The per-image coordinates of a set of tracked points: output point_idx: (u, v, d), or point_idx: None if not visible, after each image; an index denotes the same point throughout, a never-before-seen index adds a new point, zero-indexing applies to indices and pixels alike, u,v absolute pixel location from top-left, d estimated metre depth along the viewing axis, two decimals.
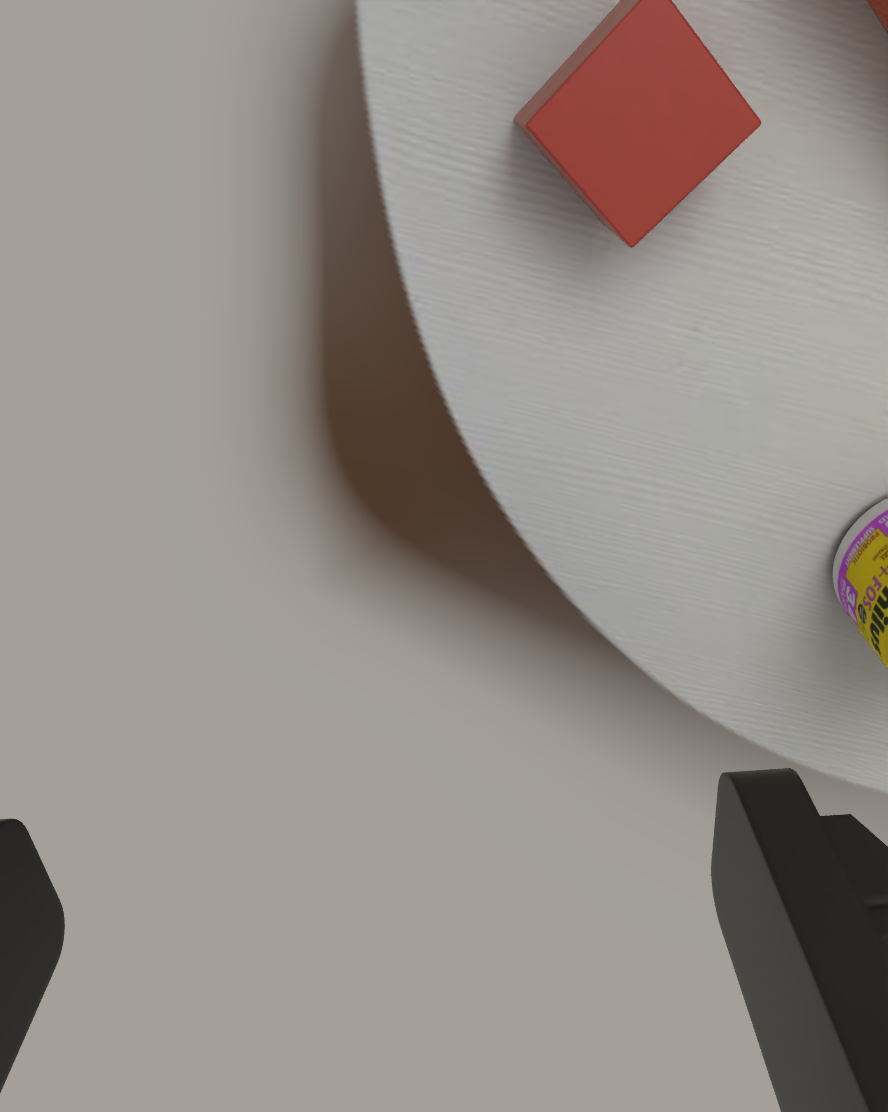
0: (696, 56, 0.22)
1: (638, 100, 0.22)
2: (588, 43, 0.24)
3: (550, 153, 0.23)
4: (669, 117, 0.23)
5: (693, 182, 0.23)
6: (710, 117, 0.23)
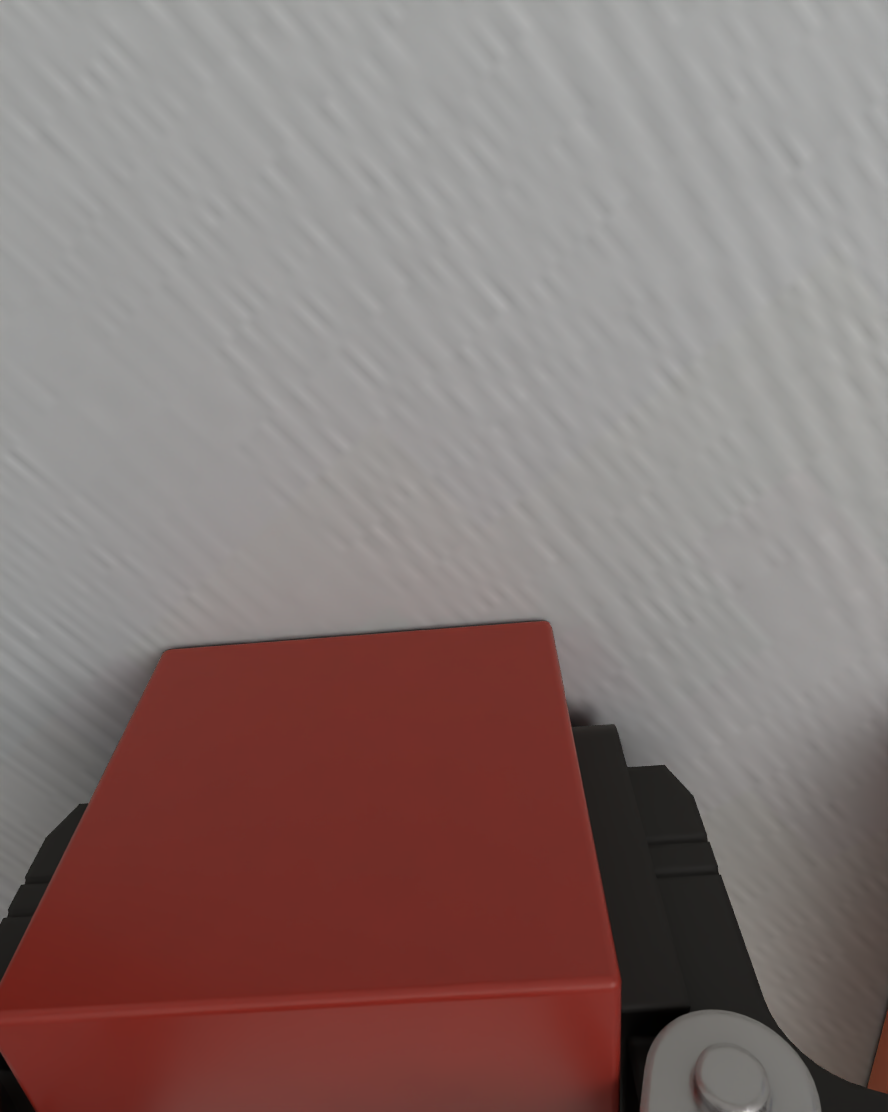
0: None
1: None
2: (387, 744, 0.08)
3: (30, 1096, 0.06)
4: None
5: None
6: None
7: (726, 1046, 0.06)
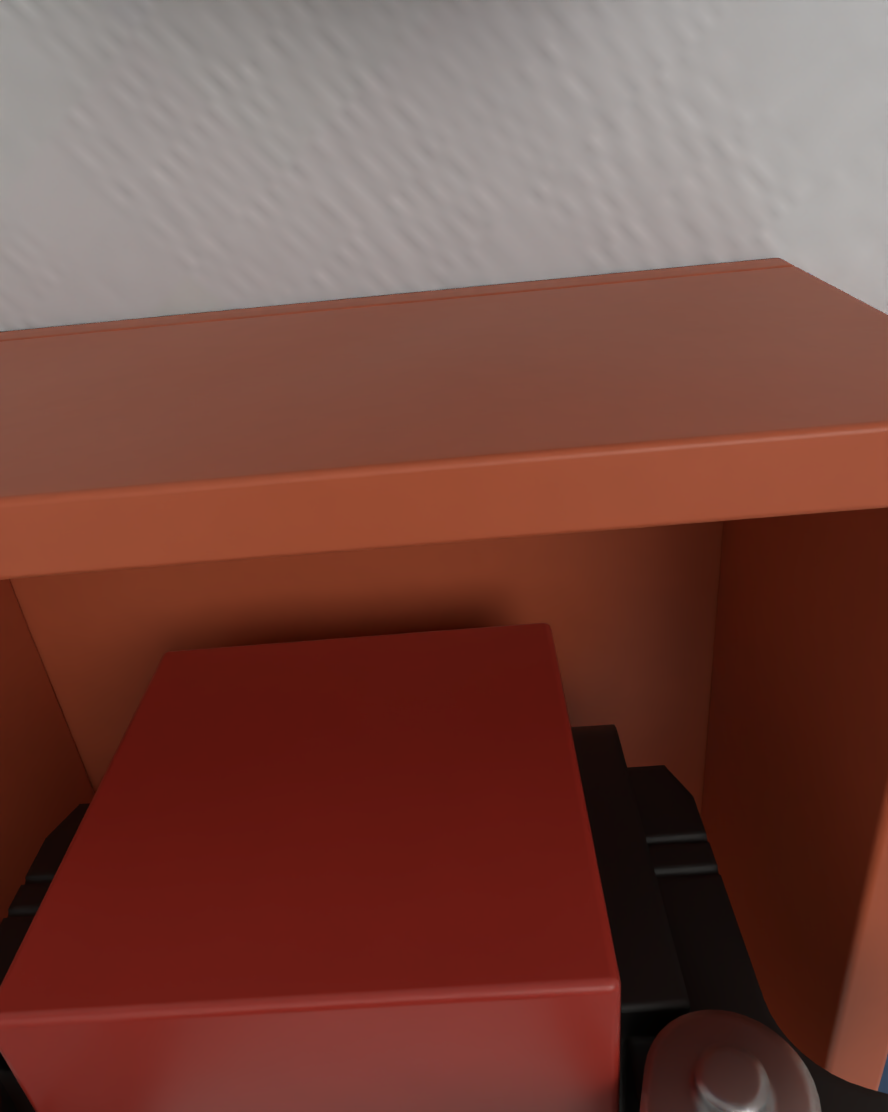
0: None
1: None
2: (387, 746, 0.08)
3: (30, 1097, 0.06)
4: None
5: None
6: None
7: (726, 1046, 0.06)
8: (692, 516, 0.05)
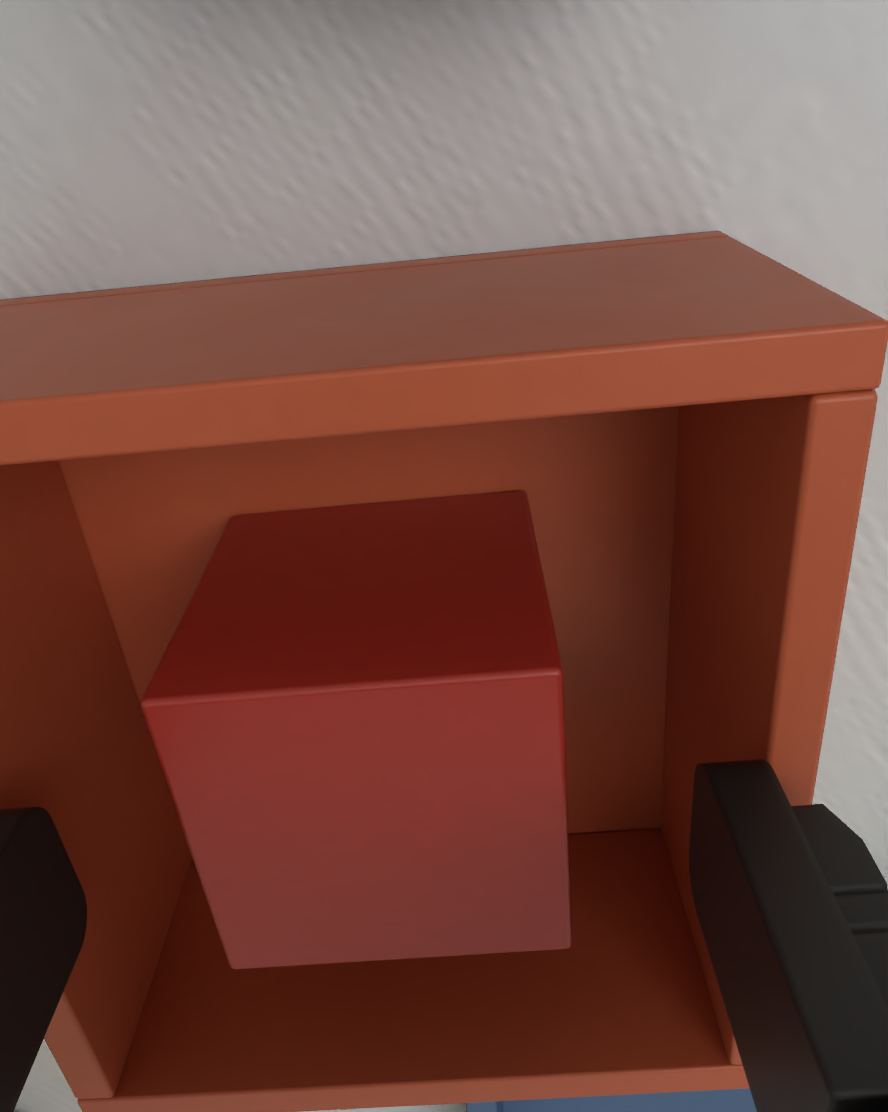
0: (540, 813, 0.10)
1: (392, 804, 0.10)
2: (404, 561, 0.11)
3: (164, 771, 0.09)
4: (429, 857, 0.10)
5: (403, 954, 0.11)
6: (496, 898, 0.10)
7: None
8: (622, 404, 0.07)
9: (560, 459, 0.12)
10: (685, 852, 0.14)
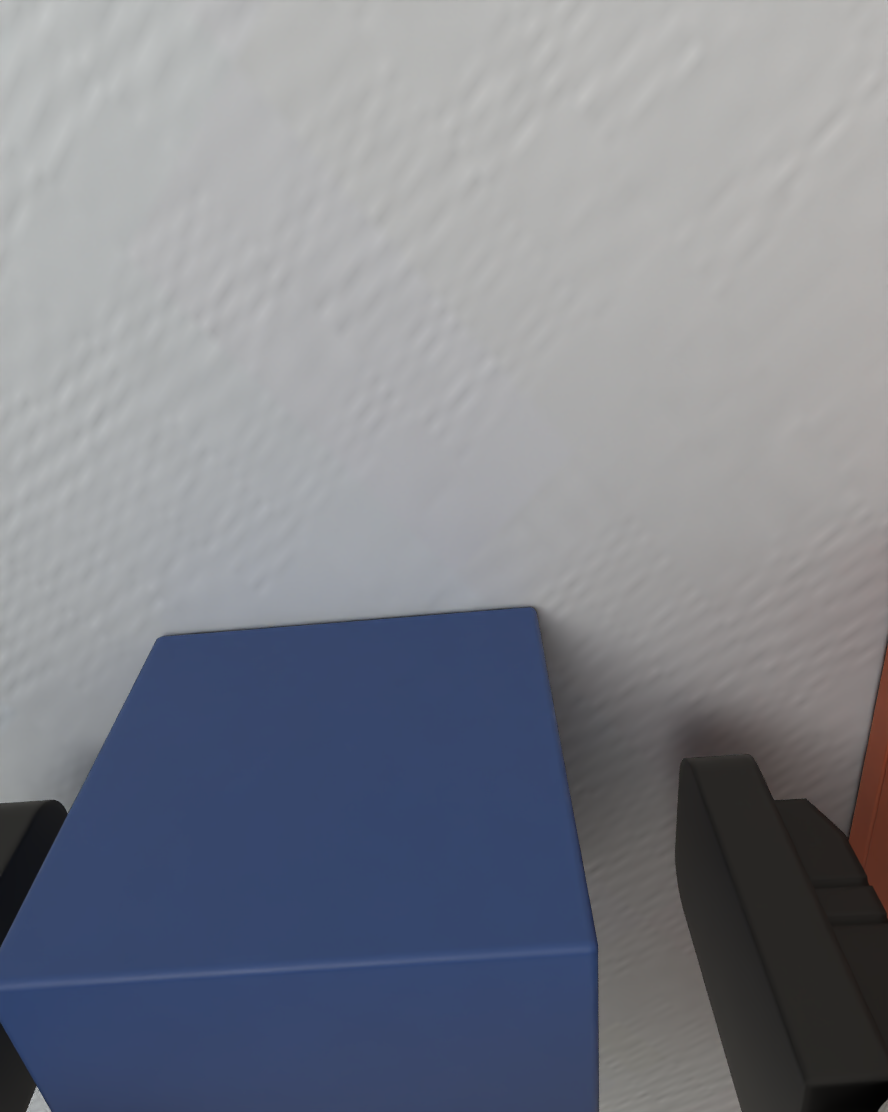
0: None
1: None
2: None
3: None
4: None
5: None
6: None
7: None
8: None
9: None
10: None
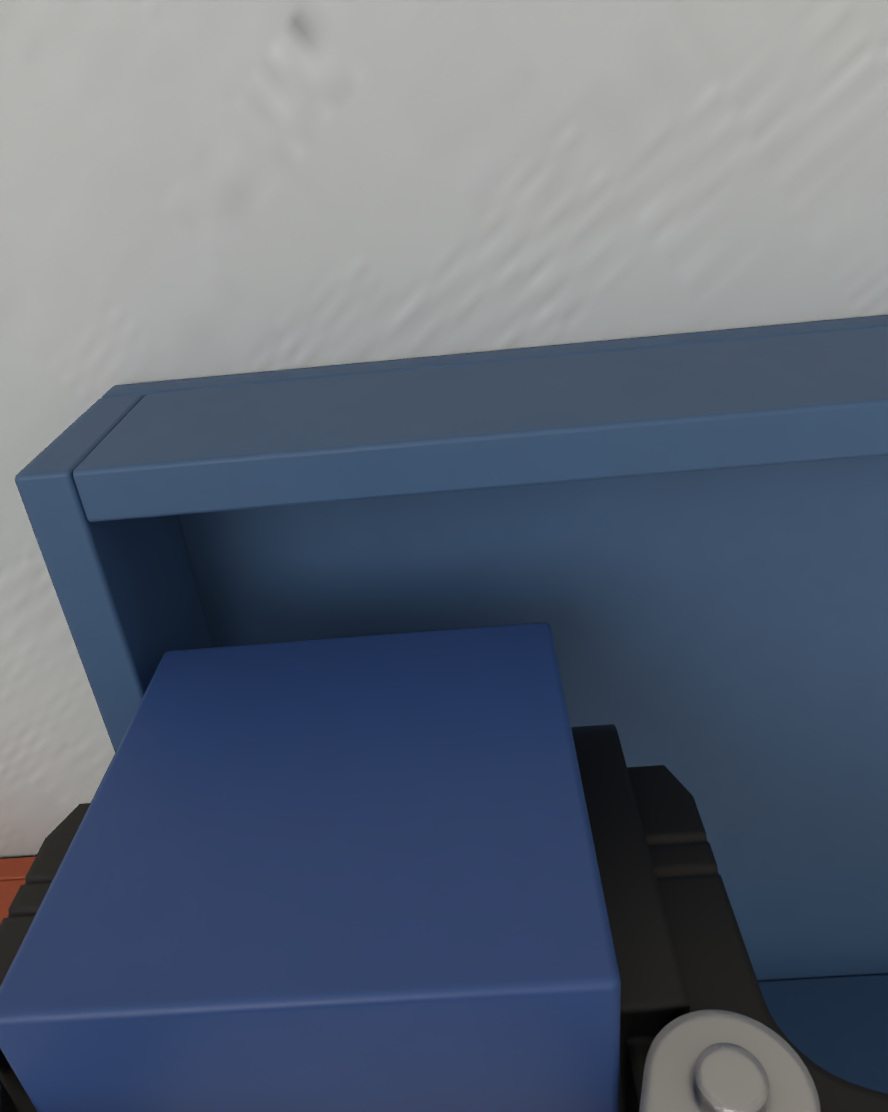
0: None
1: None
2: None
3: None
4: None
5: None
6: None
7: (726, 1046, 0.06)
8: None
9: None
10: None
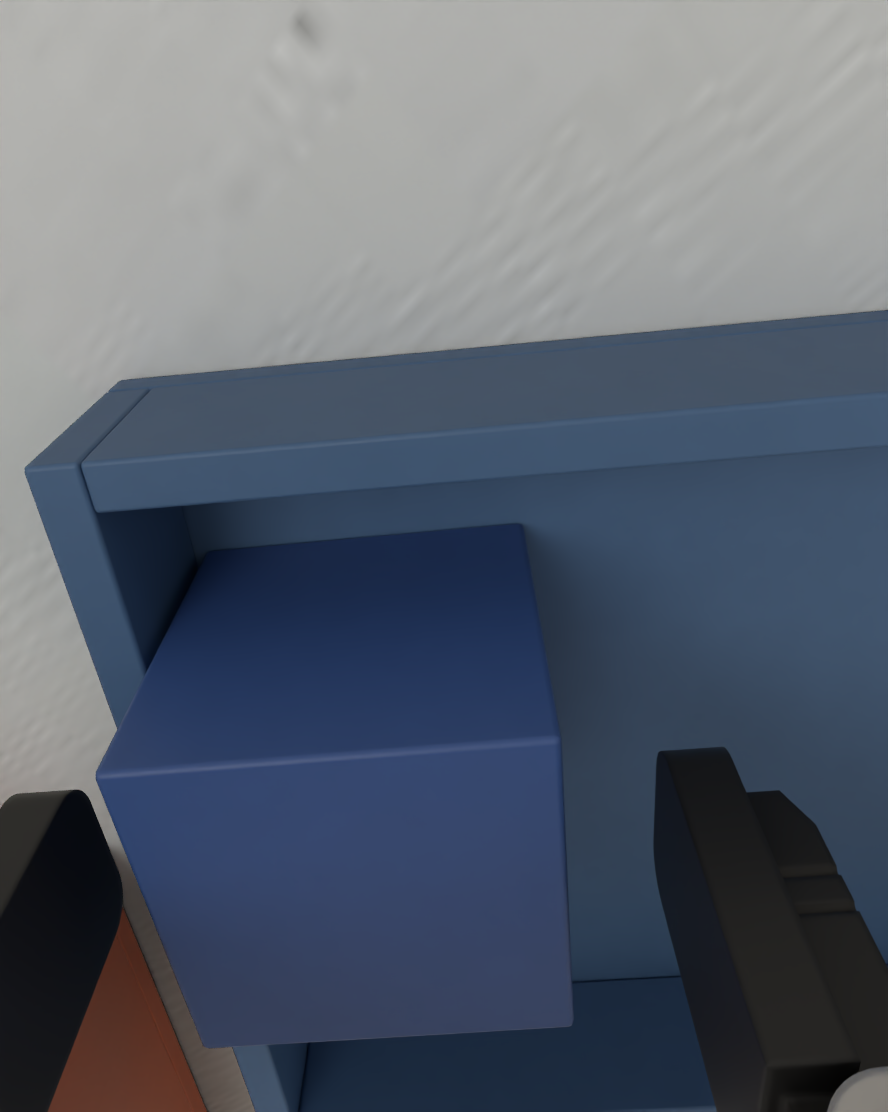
0: None
1: None
2: None
3: None
4: None
5: None
6: None
7: None
8: None
9: None
10: None
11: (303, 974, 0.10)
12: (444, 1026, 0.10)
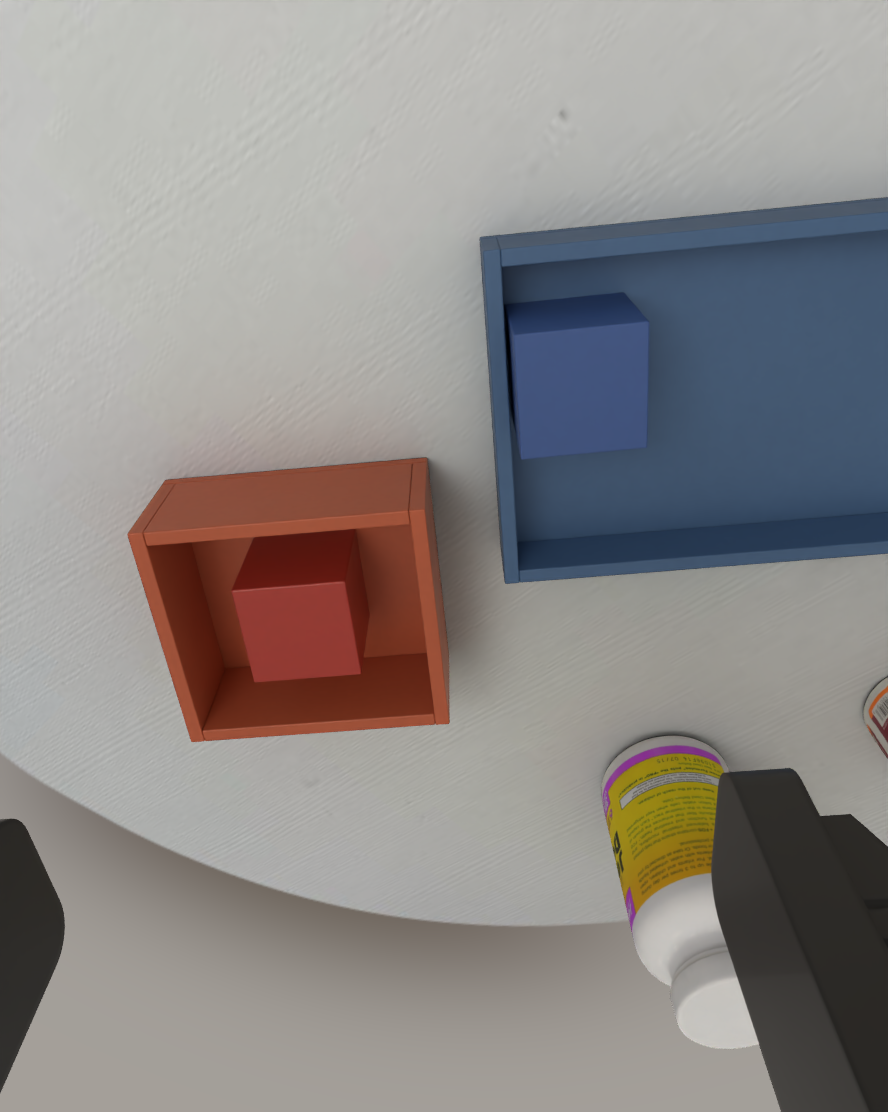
0: (282, 593, 0.33)
1: (283, 629, 0.34)
2: None
3: (278, 680, 0.35)
4: (304, 621, 0.34)
5: (349, 628, 0.34)
6: (320, 603, 0.33)
7: None
8: (155, 583, 0.33)
9: None
10: None
11: (561, 421, 0.30)
12: (604, 446, 0.30)
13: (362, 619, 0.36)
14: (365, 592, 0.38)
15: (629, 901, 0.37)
